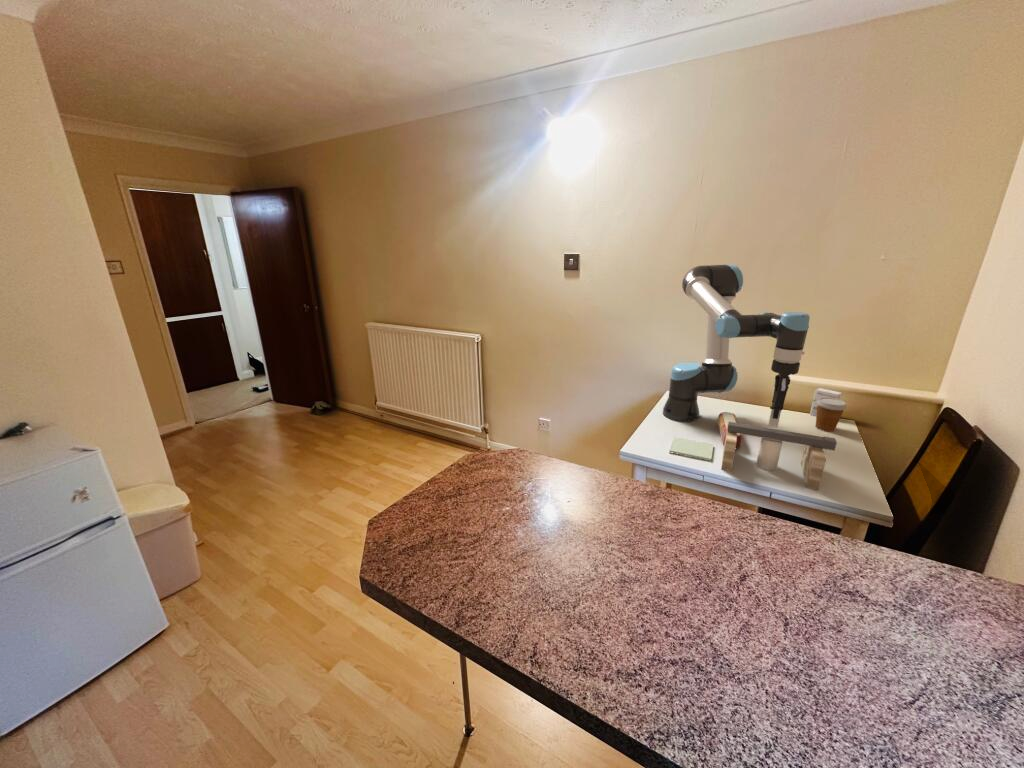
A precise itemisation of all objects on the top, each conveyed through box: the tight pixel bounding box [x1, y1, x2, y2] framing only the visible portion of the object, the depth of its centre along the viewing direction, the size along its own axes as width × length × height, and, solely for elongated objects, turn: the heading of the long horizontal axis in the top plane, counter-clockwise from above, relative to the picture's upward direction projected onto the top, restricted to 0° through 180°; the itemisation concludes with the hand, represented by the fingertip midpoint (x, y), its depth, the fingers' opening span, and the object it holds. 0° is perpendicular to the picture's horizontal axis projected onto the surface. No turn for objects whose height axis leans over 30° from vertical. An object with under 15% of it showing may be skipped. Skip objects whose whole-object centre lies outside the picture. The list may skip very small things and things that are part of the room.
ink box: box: [809, 387, 843, 417], centre depth 173 cm, size 9×5×12 cm, turn 38°
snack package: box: [716, 411, 743, 449], centre depth 158 cm, size 21×7×7 cm, turn 159°
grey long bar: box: [727, 422, 837, 451], centre depth 133 cm, size 3×30×3 cm, turn 61°
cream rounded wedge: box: [756, 437, 784, 472], centre depth 136 cm, size 6×6×10 cm
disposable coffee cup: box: [815, 397, 847, 432], centre depth 162 cm, size 10×10×12 cm
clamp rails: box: [721, 426, 827, 491], centre depth 136 cm, size 16×27×11 cm, turn 61°
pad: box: [669, 436, 715, 462], centre depth 150 cm, size 12×14×1 cm
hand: (772, 425), depth 139 cm, fingers closed
